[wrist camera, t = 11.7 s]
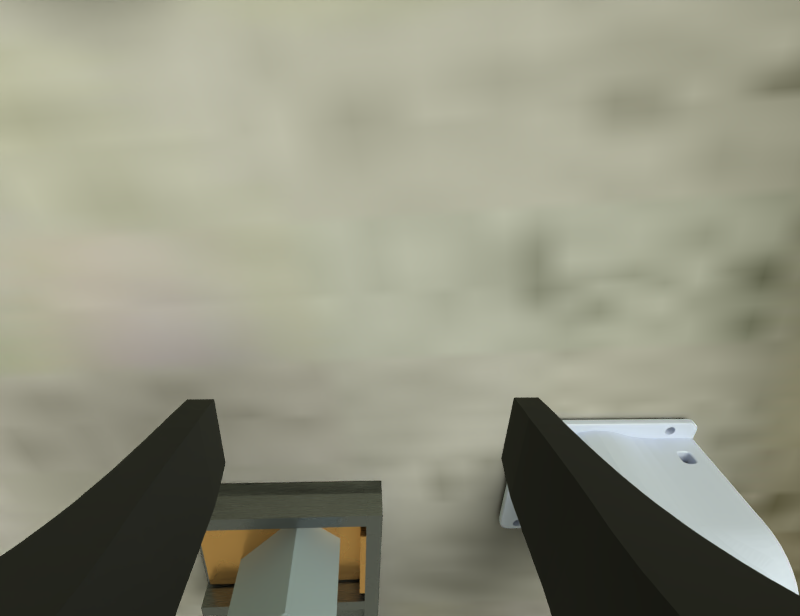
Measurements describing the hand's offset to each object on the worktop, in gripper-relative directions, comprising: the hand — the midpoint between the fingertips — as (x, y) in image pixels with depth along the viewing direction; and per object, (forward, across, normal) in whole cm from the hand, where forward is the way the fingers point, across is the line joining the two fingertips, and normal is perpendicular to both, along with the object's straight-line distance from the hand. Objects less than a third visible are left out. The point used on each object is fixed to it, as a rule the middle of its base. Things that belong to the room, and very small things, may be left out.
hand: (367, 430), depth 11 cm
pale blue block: (+8, +4, +17) cm, 19 cm away
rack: (+9, +4, +24) cm, 26 cm away
